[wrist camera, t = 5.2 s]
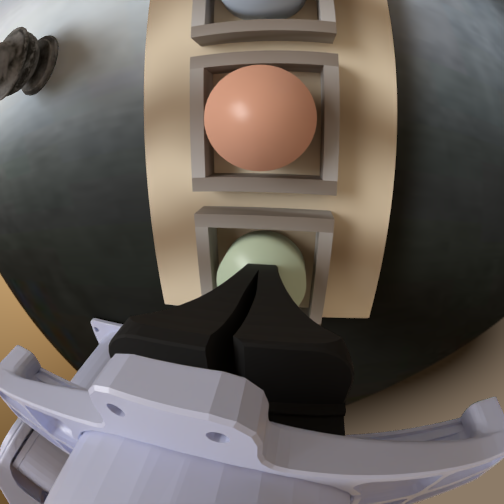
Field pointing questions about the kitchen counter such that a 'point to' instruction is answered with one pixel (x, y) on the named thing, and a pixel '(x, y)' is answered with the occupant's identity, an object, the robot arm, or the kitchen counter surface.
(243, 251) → the green button
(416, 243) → the kitchen counter surface
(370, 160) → the button panel
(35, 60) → the grey chess piece
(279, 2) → the blue button
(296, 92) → the terracotta button
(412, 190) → the kitchen counter surface
